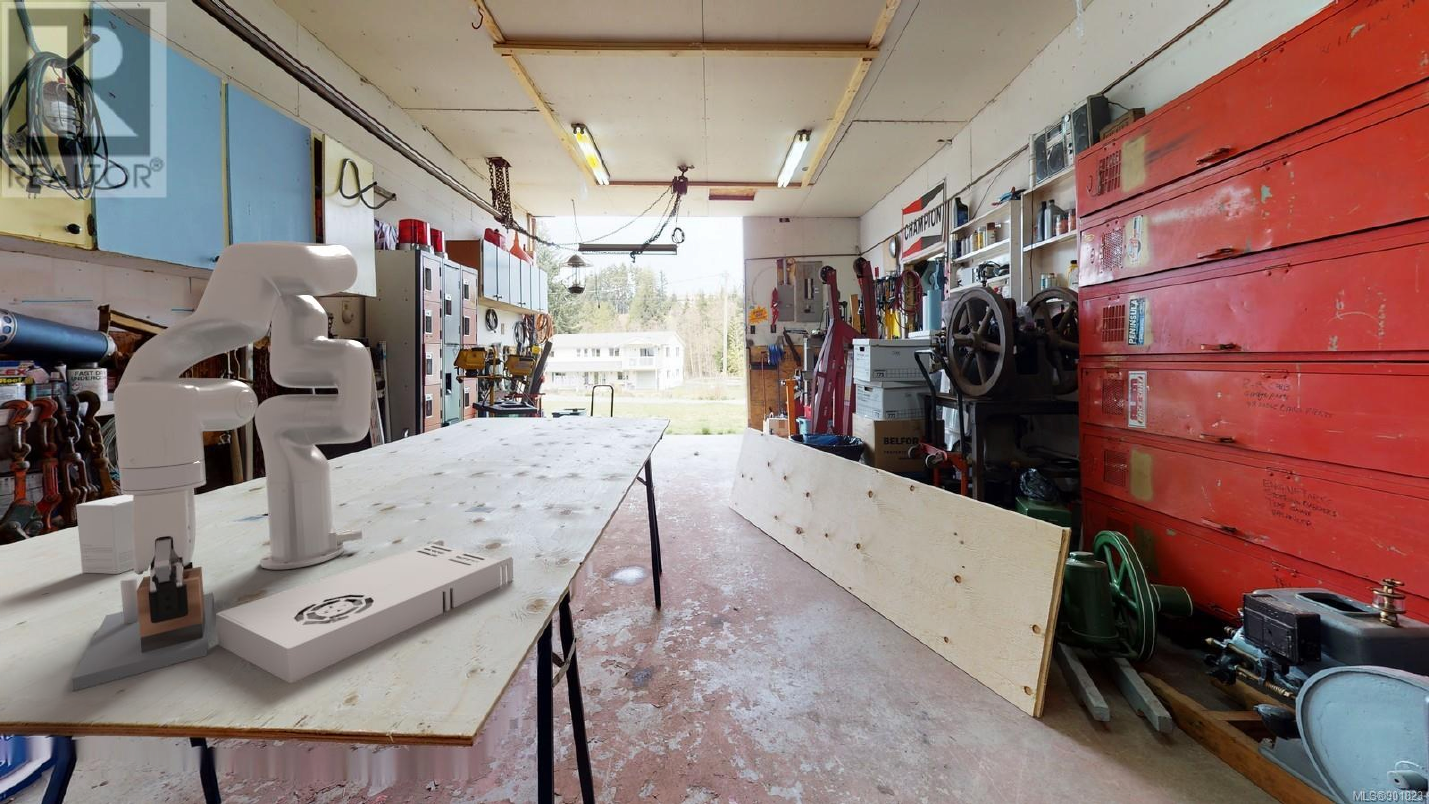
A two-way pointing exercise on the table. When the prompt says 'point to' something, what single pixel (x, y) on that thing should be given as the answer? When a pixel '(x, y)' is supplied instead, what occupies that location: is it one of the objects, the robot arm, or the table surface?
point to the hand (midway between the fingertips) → (174, 605)
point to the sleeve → (176, 628)
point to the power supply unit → (355, 608)
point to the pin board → (133, 644)
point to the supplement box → (106, 535)
